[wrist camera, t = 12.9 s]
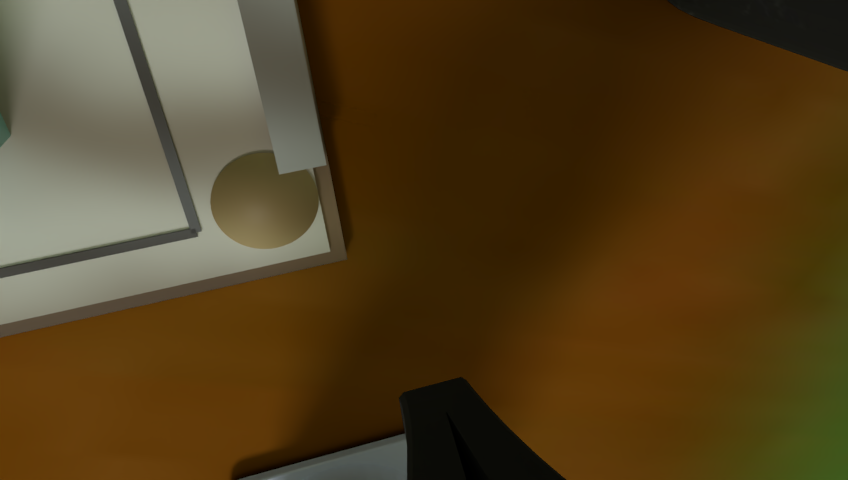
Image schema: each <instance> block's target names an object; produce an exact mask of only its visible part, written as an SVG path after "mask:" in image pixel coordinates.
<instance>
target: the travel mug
mask: <svg viewBox="0 0 848 480" xmlns="http://www.w3.org/2000/svg"><path fill="white" fill-rule="evenodd" d="M668 1H669V2H670V3H671V4H673V5H674V6H675V7H677V8H678V9H680V10H682V11H684V12H686V13H688V14H690V15H692V16H694V17H696V18H699V19H702V20H704V21H707V22H710V23H712V24H715V25H718V26H720V27H723V28H726V29H729V30H732V31H734V32H737V33H740V34H743V35H746V36H749V37H751V38H754V39H757V40H760V41H763V42H766V43H768V44H771V45H774V46H777V47H780V48H783V49H785V50H788V51H791V52H794V53H797V54H800V55H802V56H805V57H808V58H811V59H814V60H817V61H819V62H822V63H825V64H828V65H831V66H834V67H836V68H839V69H842V70H845V71H848V0H668Z"/></svg>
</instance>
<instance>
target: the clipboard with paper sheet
mask: <svg viewBox="0 0 848 480" xmlns="http://www.w3.org/2000/svg"><path fill="white" fill-rule="evenodd" d="M0 113H1V115H2V117H3V119H4V121H5V124H6V126H7V128H8V130H9V132H10V134H11V136H10V137H9V138H8V139H7V140H6V142H5V143H4V144H3V145H2V146H1V147H0V337H4V336H8V335H13V334H17V333H22V332H26V331H31V330H35V329H40V328H44V327H48V326H53V325H57V324H62V323H66V322H71V321H75V320H80V319H84V318H88V317H93V316H97V315H102V314H106V313H111V312H115V311H120V310H124V309H128V308H133V307H137V306H142V305H146V304H151V303H155V302H160V301H164V300H169V299H173V298H177V297H182V296H186V295H191V294H195V293H200V292H204V291H209V290H213V289H217V288H222V287H226V286H231V285H235V284H240V283H244V282H249V281H253V280H257V279H262V278H266V277H271V276H275V275H280V274H284V273H289V272H293V271H297V270H302V269H306V268H311V267H315V266H320V265H324V264H329V263H333V262H337V261H342V260H346V259H347V255H346V250H345V245H344V240H343V235H342V230H341V224H340V219H339V214H338V209H337V204H336V199H335V194H334V189H333V183H332V178H331V173H330V168H329V163H328V158H327V153H326V148H325V143H324V137H323V132H322V127H321V122H320V117H319V112H318V107H317V102H316V97H315V91H314V86H313V81H312V76H311V71H310V66H309V61H308V56H307V51H306V45H305V40H304V35H303V30H302V25H301V20H300V15H299V10H298V4H297V0H0Z"/></svg>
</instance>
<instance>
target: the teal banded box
mask: <svg viewBox="0 0 848 480" xmlns="http://www.w3.org/2000/svg"><path fill="white" fill-rule="evenodd" d="M10 136H11V134H10V132H9V130H8V128H7V126H6V124H5V121H4V119H3V117H2V115H1V113H0V147H1V146H2V145H3V144H4V143H5V142H6V140H7V139H8V138H9V137H10Z"/></svg>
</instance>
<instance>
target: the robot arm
mask: <svg viewBox="0 0 848 480" xmlns="http://www.w3.org/2000/svg"><path fill="white" fill-rule="evenodd" d="M399 401H400V407H401V413H402V419H403V424H404V430H405V434H401V435H397V436H394V437H390V438H387V439H383V440H379V441H376V442H372V443H368V444H365V445H361V446H358V447H354V448H350V449H347V450H343V451H339V452H336V453H332V454H328V455H325V456H321V457H318V458H314V459H310V460H307V461H303V462H299V463H296V464H292V465H289V466H285V467H281V468H278V469H274V470H270V471H267V472H263V473H259V474H256V475H252V476H249V477H245V478H241V479H238V480H566V479H565V478H563V477H562V476H561V475H560V474H559V473H558V472H556V471H555V470H554V469H553V468H552V467H550V466H549V465H548V464H547V463H546V462H545V461H544V460H542V459H541V458H540V457H539V456H538V455H537V454H536V453H535V452H533V451H532V450H531V449H530V448H529V447H528V446H527V445H526V444H525V443H524V442H523V441H522V440H521V439H520V438H519V437H518V436H517V435H516V434H515V433H514V432H512V431H511V430H510V429H509V428H508V427H507V426H506V425H505V423H504V422H503V421H502V420H501V419H500V418H499V417H498V416H497V415H496V414H495V413H494V412H493V411H492V410H491V409H490V408H489V407H488V405H487V404H486V403H485V402H484V401H483V400H482V399H481V398H480V396H479V395H478V394H477V393H476V392H475V390H474V389H473V388H472V387H471V386H470V384H469V383H468V382H467V380H465V379H463V378H462V377H460V378H456V379H452V380H448V381H445V382H441V383H437V384H433V385H429V386H426V387H422V388H418V389H414V390H410V391H407V392H404V393H403V394H402V395H401V396H400V397H399Z"/></svg>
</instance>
